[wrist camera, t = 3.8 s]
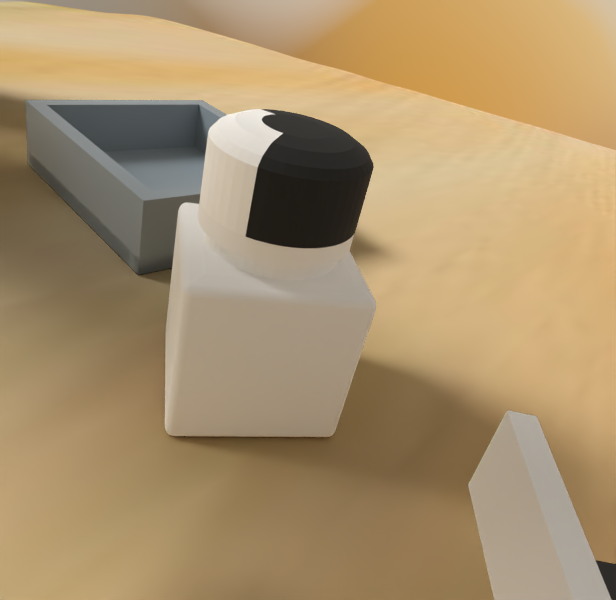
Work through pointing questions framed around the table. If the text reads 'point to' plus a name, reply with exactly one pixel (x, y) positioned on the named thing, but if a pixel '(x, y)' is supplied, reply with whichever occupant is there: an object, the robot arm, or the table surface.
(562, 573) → the robot arm
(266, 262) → the medicine bottle
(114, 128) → the tote
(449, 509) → the table surface
